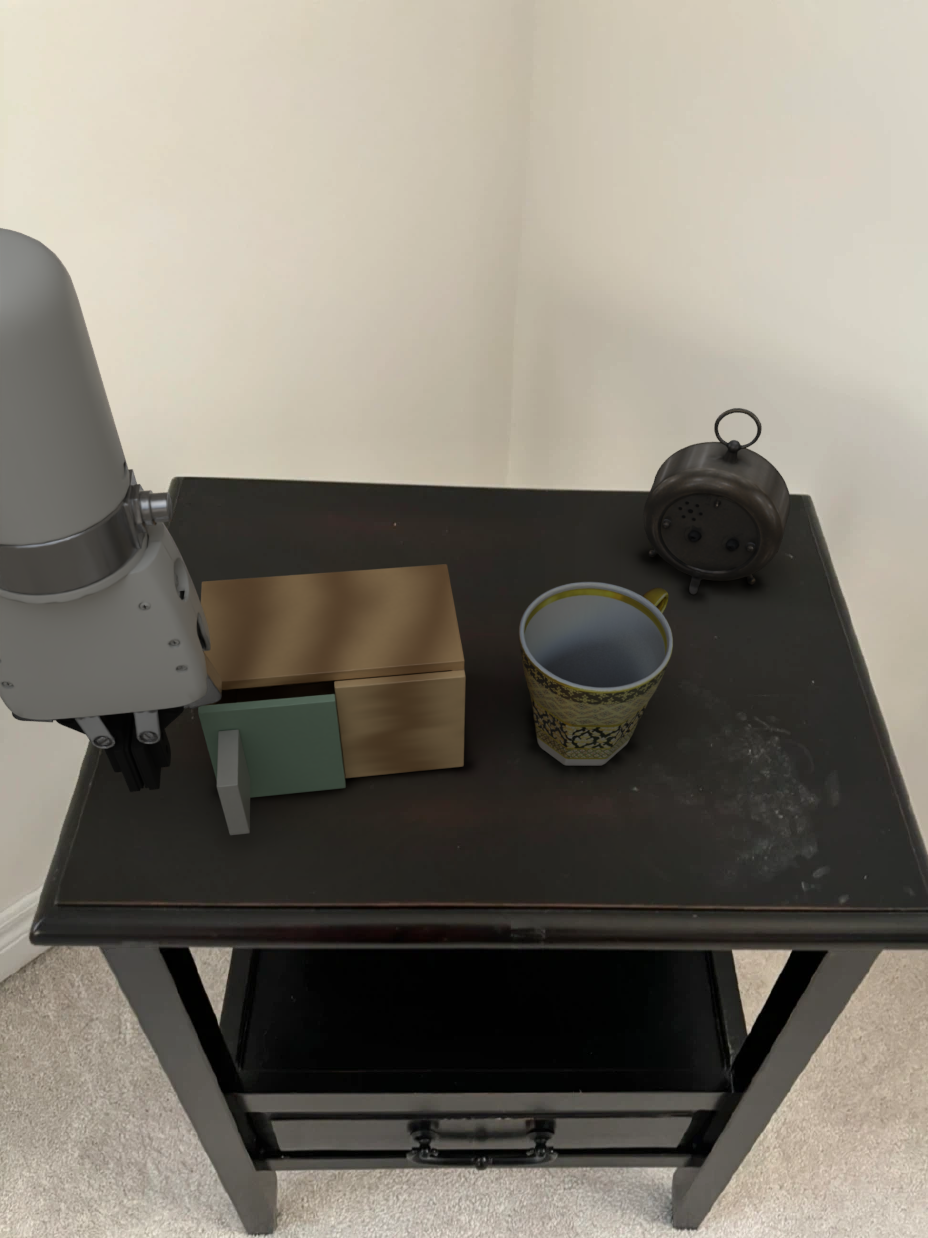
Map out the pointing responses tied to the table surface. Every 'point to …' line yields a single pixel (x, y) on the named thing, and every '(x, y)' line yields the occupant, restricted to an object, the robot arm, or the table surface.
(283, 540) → the table surface
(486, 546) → the table surface
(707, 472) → the alarm clock
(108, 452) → the robot arm
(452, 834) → the table surface
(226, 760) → the sliding door
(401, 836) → the table surface
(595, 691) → the ceramic cup
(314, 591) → the cabinet
